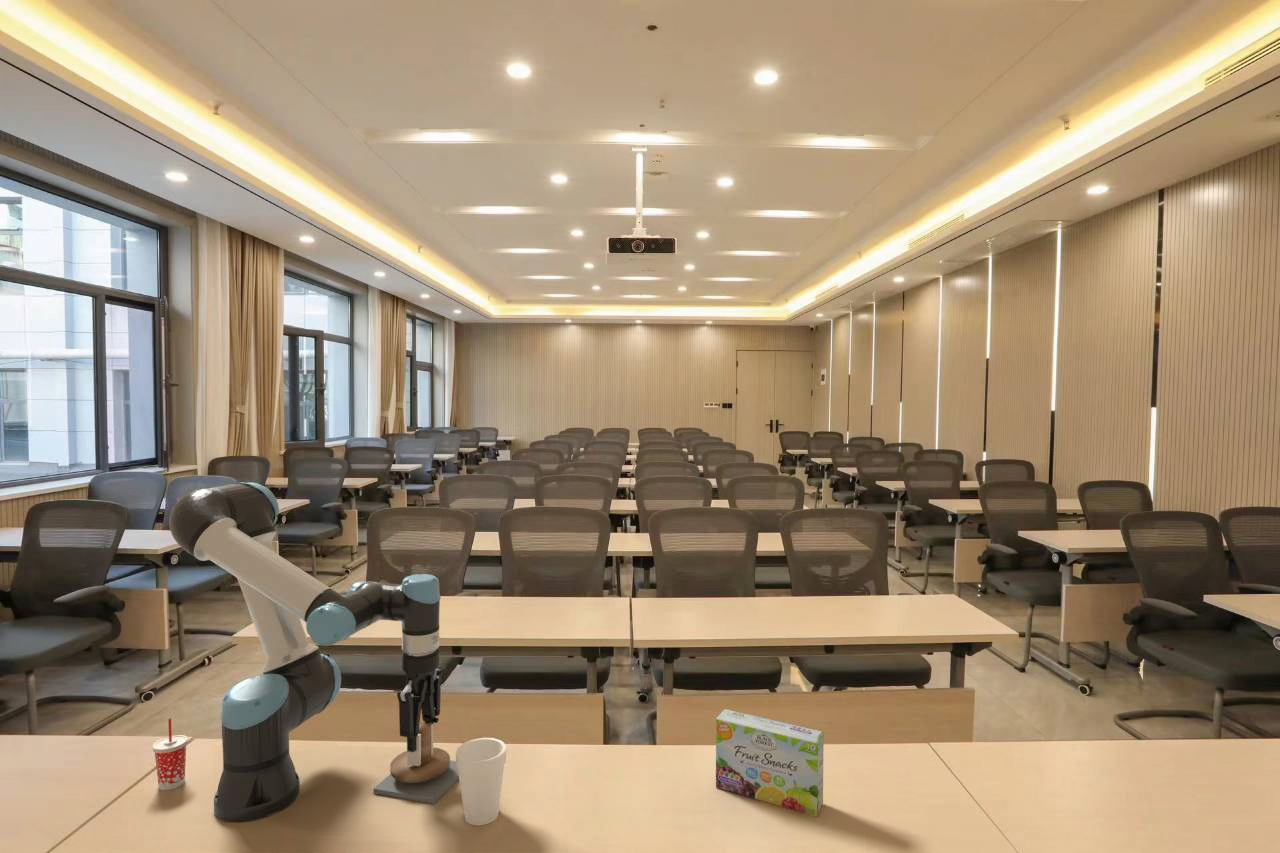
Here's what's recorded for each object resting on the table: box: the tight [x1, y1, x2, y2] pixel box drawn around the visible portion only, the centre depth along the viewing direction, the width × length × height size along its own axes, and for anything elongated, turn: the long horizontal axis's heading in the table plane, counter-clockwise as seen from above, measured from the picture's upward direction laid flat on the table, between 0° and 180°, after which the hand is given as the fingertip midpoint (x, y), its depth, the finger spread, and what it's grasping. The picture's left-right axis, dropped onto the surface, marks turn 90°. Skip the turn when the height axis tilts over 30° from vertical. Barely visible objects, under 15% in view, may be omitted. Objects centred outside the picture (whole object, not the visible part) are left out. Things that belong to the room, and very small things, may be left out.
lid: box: [389, 721, 451, 783], centre depth 147 cm, size 12×12×9 cm
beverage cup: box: [152, 717, 189, 791], centre depth 145 cm, size 6×6×14 cm
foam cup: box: [455, 737, 507, 826], centre depth 134 cm, size 10×9×13 cm
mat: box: [372, 759, 459, 804], centre depth 147 cm, size 14×14×1 cm
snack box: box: [715, 708, 825, 817], centre depth 141 cm, size 21×6×15 cm, turn 62°
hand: (420, 758), depth 147 cm, fingers closed on lid, 4 cm apart
